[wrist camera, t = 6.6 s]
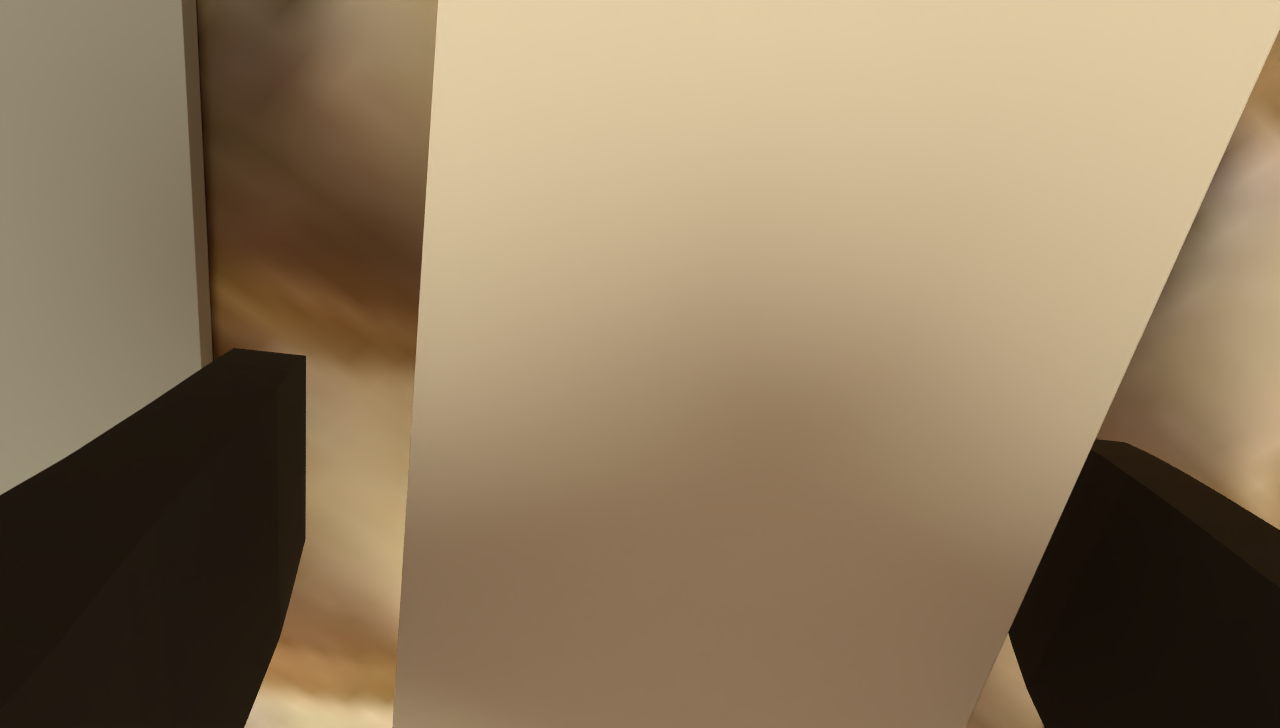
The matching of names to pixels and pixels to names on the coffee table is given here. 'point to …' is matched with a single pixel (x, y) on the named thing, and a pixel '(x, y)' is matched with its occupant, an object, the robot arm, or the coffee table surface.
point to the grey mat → (97, 220)
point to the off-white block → (778, 340)
